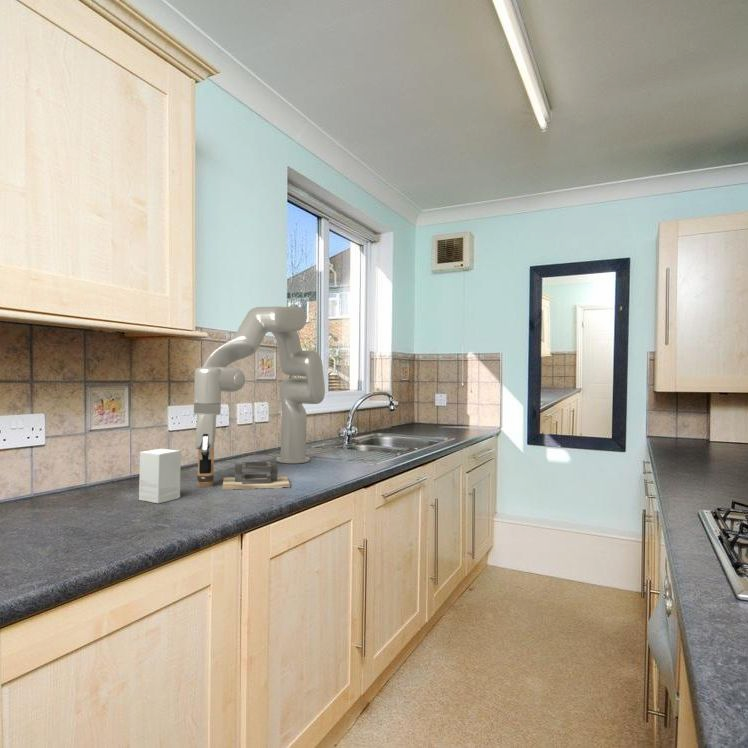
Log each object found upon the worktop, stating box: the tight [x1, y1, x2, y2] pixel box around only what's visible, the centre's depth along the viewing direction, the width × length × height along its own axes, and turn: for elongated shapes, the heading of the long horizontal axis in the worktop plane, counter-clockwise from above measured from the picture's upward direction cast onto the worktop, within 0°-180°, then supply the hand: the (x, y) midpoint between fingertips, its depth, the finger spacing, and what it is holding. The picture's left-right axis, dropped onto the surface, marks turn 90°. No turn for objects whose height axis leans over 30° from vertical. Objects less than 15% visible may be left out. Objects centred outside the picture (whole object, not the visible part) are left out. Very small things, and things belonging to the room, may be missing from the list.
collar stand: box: [222, 461, 291, 491], centre depth 151 cm, size 13×19×6 cm
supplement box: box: [138, 448, 182, 504], centre depth 131 cm, size 7×7×13 cm
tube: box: [196, 445, 215, 488], centre depth 148 cm, size 5×5×12 cm
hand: (205, 470), depth 148 cm, fingers closed on tube, 4 cm apart
